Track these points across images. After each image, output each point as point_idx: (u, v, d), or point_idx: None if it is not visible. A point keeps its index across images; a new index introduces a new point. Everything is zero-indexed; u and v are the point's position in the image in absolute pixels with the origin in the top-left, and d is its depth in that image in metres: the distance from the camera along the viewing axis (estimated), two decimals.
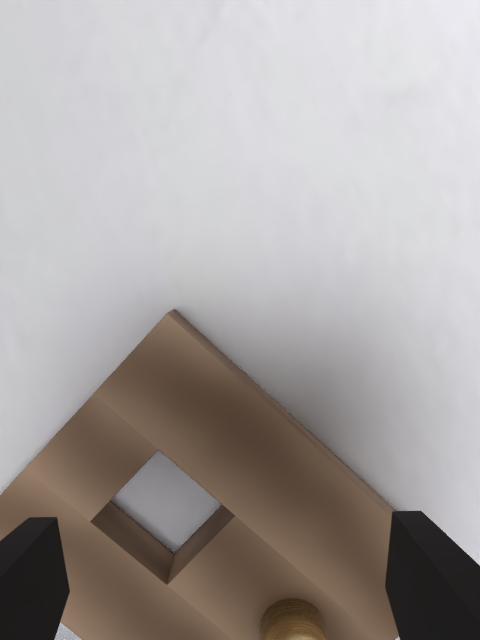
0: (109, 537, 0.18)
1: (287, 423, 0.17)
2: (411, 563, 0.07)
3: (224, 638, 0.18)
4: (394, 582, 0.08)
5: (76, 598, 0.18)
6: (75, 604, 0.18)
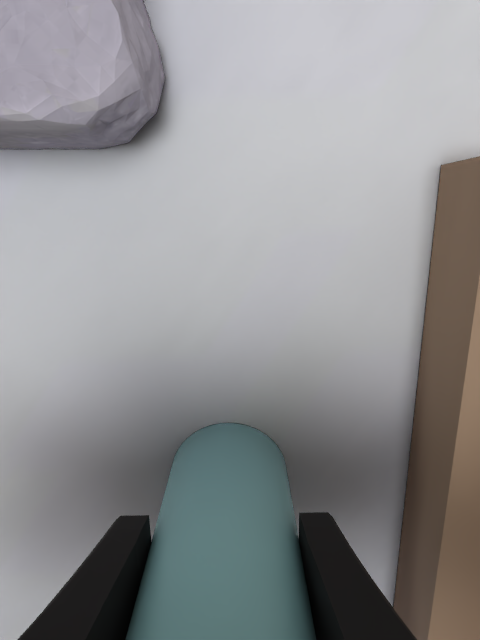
0: None
1: None
2: (307, 565, 0.07)
3: None
4: None
5: None
6: None
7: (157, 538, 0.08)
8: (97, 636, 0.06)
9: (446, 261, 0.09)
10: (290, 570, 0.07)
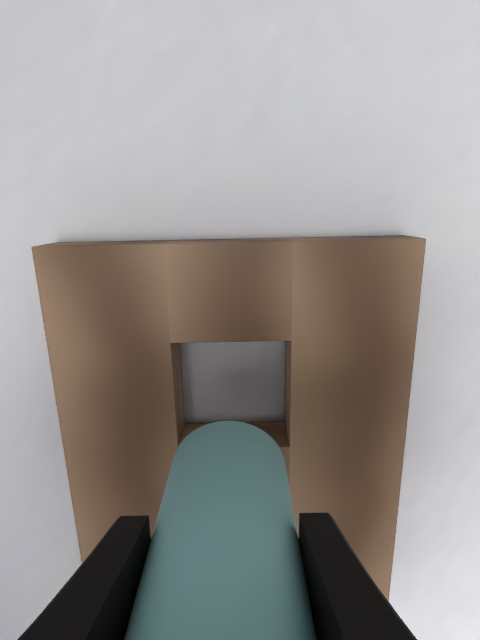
0: (172, 370, 0.15)
1: (406, 417, 0.16)
2: (307, 565, 0.07)
3: None
4: None
5: (90, 392, 0.16)
6: (84, 396, 0.16)
7: (157, 534, 0.08)
8: (97, 636, 0.06)
9: None
10: (290, 567, 0.07)
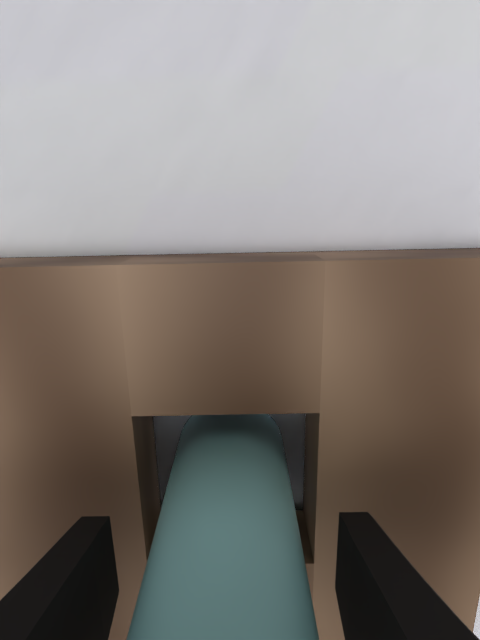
0: (136, 456, 0.10)
1: None
2: (351, 564, 0.07)
3: None
4: (341, 583, 0.08)
5: (11, 488, 0.10)
6: (2, 493, 0.10)
7: (169, 492, 0.09)
8: (41, 637, 0.06)
9: None
10: (285, 516, 0.08)
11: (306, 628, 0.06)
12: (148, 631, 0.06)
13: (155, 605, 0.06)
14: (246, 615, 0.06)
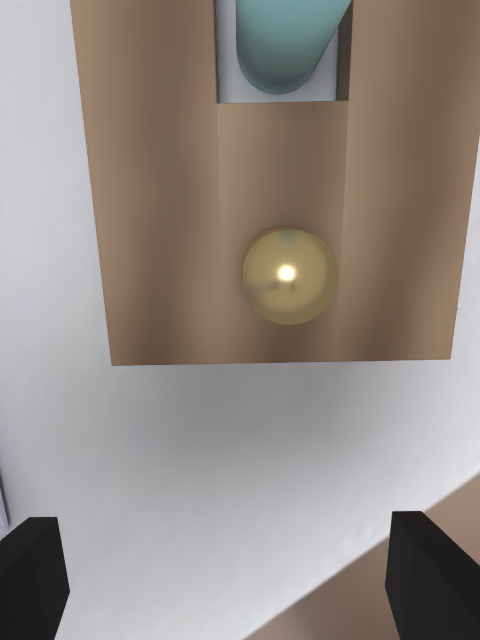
0: None
1: None
2: (411, 563, 0.07)
3: (214, 216, 0.15)
4: (394, 582, 0.08)
5: (114, 18, 0.13)
6: (107, 24, 0.13)
7: None
8: None
9: None
10: None
11: None
12: None
13: None
14: None
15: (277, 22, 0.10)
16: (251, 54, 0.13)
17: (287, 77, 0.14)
